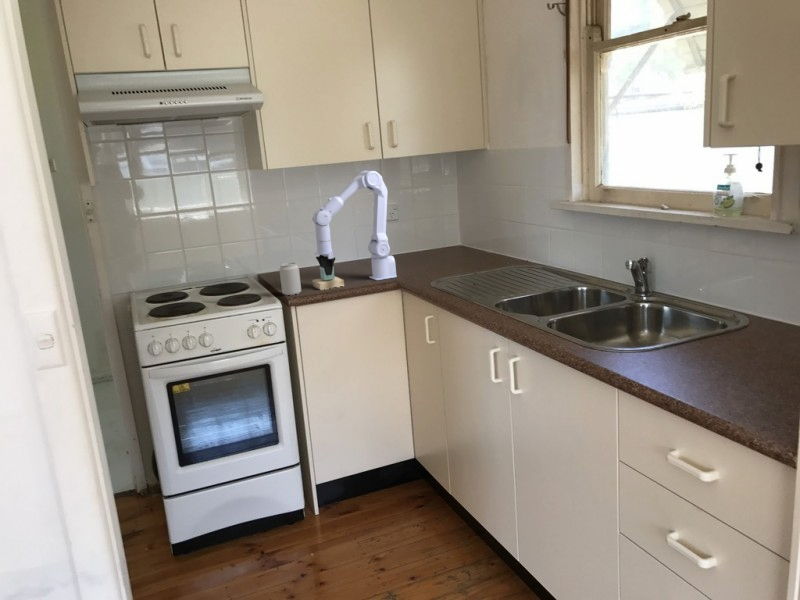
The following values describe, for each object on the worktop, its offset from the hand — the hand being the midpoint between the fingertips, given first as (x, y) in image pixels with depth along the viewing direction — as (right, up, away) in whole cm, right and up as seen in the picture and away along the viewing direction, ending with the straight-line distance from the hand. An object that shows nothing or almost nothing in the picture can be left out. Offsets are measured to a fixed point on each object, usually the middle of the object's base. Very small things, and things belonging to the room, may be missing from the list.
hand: (327, 274), depth 266 cm
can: (-13, -8, -8) cm, 17 cm away
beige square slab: (0, -5, +1) cm, 5 cm away
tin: (0, -2, 0) cm, 2 cm away
